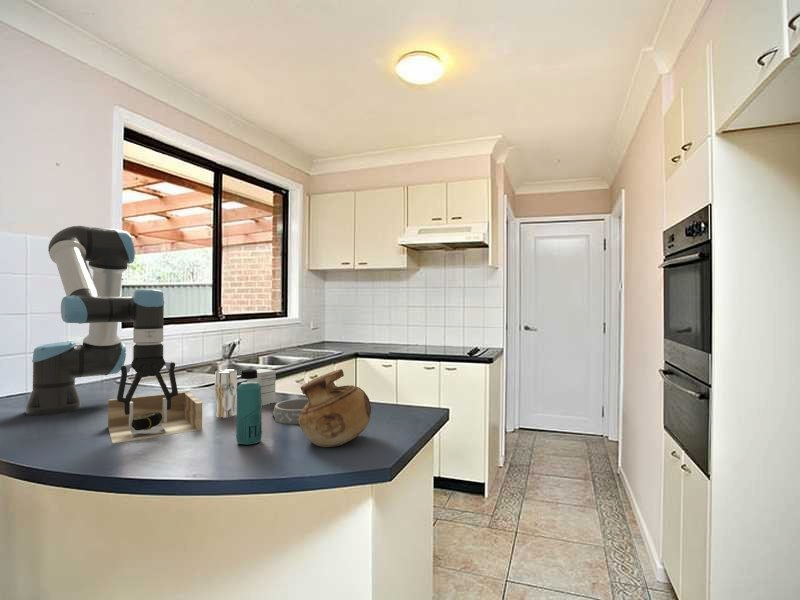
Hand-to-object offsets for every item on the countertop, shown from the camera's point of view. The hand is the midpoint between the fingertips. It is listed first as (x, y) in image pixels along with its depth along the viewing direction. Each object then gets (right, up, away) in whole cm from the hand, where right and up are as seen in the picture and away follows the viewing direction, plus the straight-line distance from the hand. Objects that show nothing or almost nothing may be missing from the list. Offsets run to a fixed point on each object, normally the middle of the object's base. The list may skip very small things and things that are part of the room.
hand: (148, 423), depth 129 cm
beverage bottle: (+33, -3, -11) cm, 35 cm away
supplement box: (+22, -3, +35) cm, 41 cm away
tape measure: (+2, -1, +1) cm, 2 cm away
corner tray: (0, -3, +4) cm, 5 cm away
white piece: (+15, -3, +18) cm, 24 cm away
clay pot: (+55, -3, -10) cm, 56 cm away
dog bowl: (+40, -4, +16) cm, 43 cm away
